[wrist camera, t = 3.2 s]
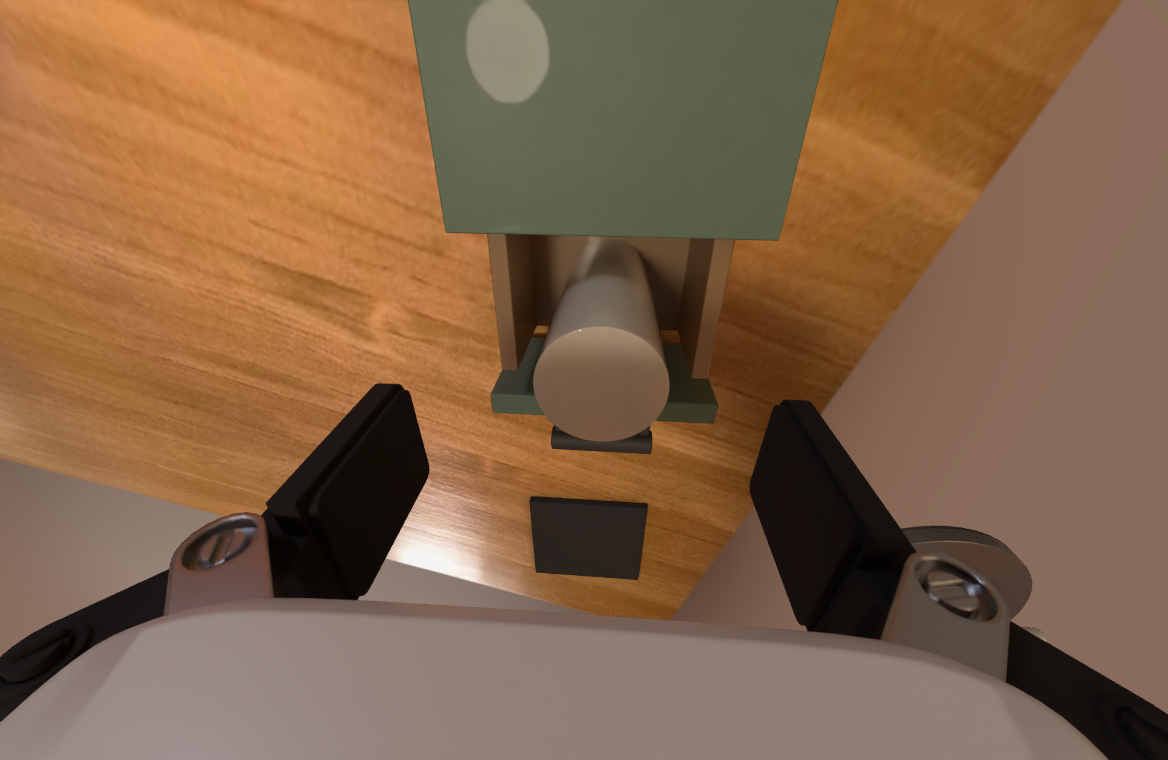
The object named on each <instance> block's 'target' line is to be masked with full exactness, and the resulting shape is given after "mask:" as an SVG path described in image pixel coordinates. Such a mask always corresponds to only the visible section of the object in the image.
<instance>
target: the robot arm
mask: <svg viewBox="0 0 1168 760" xmlns="http://www.w3.org/2000/svg"><path fill="white" fill-rule="evenodd" d="M428 475H429V463H428V459H427V456H426V452H425V448H424V444H423V440H422V437H421V433H420V429H419V425H418V422H417V418H416V414H415V410H414V406H413V403H412V399H411V395H410V393H409V391H408V390H404V388H403V387H402V386H401V385H400V384H382V383H378V384H375V385H374V386H373V387H372V388H371V389H370V390H369V391H368V392H367V394H366V395H365V396H364V397H363V398H362V399H361V400H360V401H359V402H358V403H357V404H356V406H355V407H354V408H353V409H352V410H351V411H350V412H349V413H348V414H347V415H346V416H345V417H344V419H343V420H342V421H341V422H340V423H339V424H338V425H337V426H336V427H335V428H334V429H333V431H332V432H331V433H330V434H329V435H328V436H327V437H326V438H325V439H324V440H323V441H322V443H321V444H320V445H319V446H318V447H317V448H316V449H315V450H314V451H313V452H312V453H311V454H310V456H309V457H308V458H307V459H306V460H305V461H304V462H303V463H302V464H301V465H300V466H299V468H298V469H297V470H296V471H295V472H294V473H293V474H292V475H291V476H290V477H289V478H288V480H287V481H286V482H285V483H284V484H283V485H282V486H281V487H280V488H279V489H278V490H277V492H276V493H275V494H274V495H273V496H272V497H271V498H270V499H269V500H268V501H267V502H266V505H267V507H268V508H267V510H266V511H265V512H264V513H263V514H262V515H261V516H260V515H258V514H256V513H249V512H243V513H235V514H231V515H228V516H225V517H221V518H219V519H217V520H215V521H212V522H210V523H208V524H206V525H205V526H203V527H202V528H200V529H198V530H197V531H195V532H194V533H193V534H191V535H190V536H189V537H188V538H187V539H186V540H184V541H183V542H182V543H181V545H180V546H179V547H178V548H177V550H176V551H175V552H174V554H173V557H172V559H171V562H170V568H169V569H168V570H166V571H164V572H162V573H160V574H158V575H155V576H153V577H151V578H149V579H147V580H144V581H142V582H140V583H138V584H136V585H133V586H131V587H129V588H127V589H125V590H123V591H121V592H118V593H116V594H114V595H112V596H110V597H107V598H105V599H103V600H101V601H99V602H96V603H94V604H92V605H90V606H88V607H86V608H83V609H81V610H79V611H77V612H75V613H73V614H70V615H68V616H66V617H64V618H62V619H59V620H57V621H55V622H53V623H51V624H49V625H47V626H45V627H43V628H41V629H40V630H38V631H36V632H34V633H32V634H30V635H29V636H27V637H26V638H24V639H23V640H21V641H20V642H19V643H17V644H16V645H14V646H13V647H11V648H10V649H9V650H8V651H7V652H6V653H4V654H3V655H2V656H1V657H0V760H1168V714H1166V713H1165V712H1163V711H1162V710H1160V709H1159V708H1157V707H1156V706H1154V705H1153V704H1151V703H1149V702H1148V701H1146V700H1144V699H1143V698H1141V697H1139V696H1137V695H1136V694H1134V693H1132V692H1131V691H1129V690H1127V689H1126V688H1124V687H1122V686H1120V685H1119V684H1117V683H1115V682H1114V681H1112V680H1110V679H1109V678H1107V677H1105V676H1103V675H1102V674H1100V673H1098V672H1097V671H1095V670H1093V669H1091V668H1090V667H1088V666H1086V665H1085V664H1083V663H1081V662H1079V661H1078V660H1076V659H1074V658H1073V657H1071V656H1069V655H1068V654H1066V653H1064V652H1062V651H1061V650H1059V649H1057V648H1056V647H1054V646H1052V645H1051V644H1049V643H1047V639H1046V637H1045V635H1044V633H1043V632H1041V631H1040V630H1039V629H1036V628H1029V627H1020V626H1018V625H1016V624H1015V623H1013V622H1011V621H1010V613H1009V608H1008V605H1007V603H1006V601H1005V600H1004V598H1003V596H1002V594H1001V593H1000V592H999V591H998V590H997V589H996V587H995V586H994V585H993V584H992V583H991V582H990V581H989V580H988V579H987V578H985V577H984V576H983V575H982V574H980V573H979V572H978V571H977V570H975V569H973V568H972V567H970V566H968V565H967V564H965V563H963V562H962V561H960V560H957V559H955V558H953V557H950V556H948V555H945V554H941V553H937V552H932V551H919V552H916V550H915V549H914V547H913V546H912V545H911V543H910V542H909V540H908V538H907V537H906V535H905V534H904V533H903V531H902V530H901V528H900V527H899V526H898V524H897V523H896V521H895V520H894V519H893V517H892V516H891V514H890V513H889V511H888V510H887V509H886V507H885V506H884V504H883V503H882V502H881V500H880V499H879V497H878V496H877V495H876V493H875V492H874V490H873V489H872V487H871V486H870V485H869V483H868V482H867V480H866V479H865V478H864V476H863V475H862V473H861V472H860V471H859V469H858V468H857V466H856V465H855V464H854V462H853V461H852V459H851V458H850V456H849V455H848V454H847V452H846V451H845V449H844V448H843V447H842V445H841V444H840V442H839V441H838V440H837V438H836V437H835V435H834V434H833V432H832V431H831V430H830V428H829V427H828V425H827V424H826V423H825V421H824V420H823V418H822V417H821V415H820V414H819V413H818V411H817V410H816V408H815V407H814V405H813V404H812V403H811V402H810V401H806V400H783V401H782V402H781V404H780V405H776V406H774V407H773V410H772V413H771V416H770V419H769V423H768V426H767V429H766V432H765V435H764V439H763V442H762V445H761V448H760V451H759V455H758V458H757V461H756V464H755V468H754V471H753V474H752V477H751V480H750V494H751V498H752V500H753V503H754V506H755V508H756V511H757V514H758V516H759V519H760V522H761V525H762V527H763V530H764V533H765V536H766V538H767V541H768V544H769V547H770V549H771V552H772V555H773V557H774V560H775V563H776V566H777V568H778V571H779V574H780V577H781V579H782V582H783V585H784V587H785V590H786V593H787V596H788V598H789V601H790V603H791V606H792V609H793V612H794V615H795V617H796V619H797V621H798V623H799V624H800V625H804V626H806V628H807V631H797V630H786V629H775V628H764V627H752V626H739V625H725V624H711V623H697V622H683V621H670V620H656V619H642V618H628V617H613V616H599V615H583V614H569V613H554V612H539V611H523V610H509V609H494V608H477V607H462V606H446V605H429V604H413V603H396V602H380V601H361V600H358V598H359V596H363V595H365V594H366V593H367V592H368V590H369V589H370V587H371V585H372V583H373V581H374V579H375V577H376V575H377V574H378V572H379V570H380V568H381V566H382V564H383V562H384V560H385V558H386V556H387V555H388V553H389V551H390V549H391V547H392V545H393V543H394V541H395V539H396V537H397V536H398V534H399V532H400V530H401V528H402V526H403V524H404V522H405V520H406V518H407V517H408V515H409V513H410V511H411V509H412V507H413V505H414V503H415V501H416V499H417V498H418V496H419V494H420V492H421V490H422V488H423V486H424V484H425V482H426V480H427V478H428Z"/></svg>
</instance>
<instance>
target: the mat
mask: <svg viewBox="0 0 1168 760" xmlns="http://www.w3.org/2000/svg"><path fill="white" fill-rule="evenodd" d="M530 511H531V522H532V533H533V544H534V556H535V567H536V572H537V573H550V574H564V575H578V576H592V577H605V578H619V579H633V580H638V577H639V569H640V561H641V553H642V545H643V537H644V529H645V522H646V514H647V504H640V503H624V502H608V501H592V500H575V499H559V498H543V497H531V498H530Z"/></svg>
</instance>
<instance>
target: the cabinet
mask: <svg viewBox="0 0 1168 760" xmlns="http://www.w3.org/2000/svg"><path fill="white" fill-rule="evenodd" d="M408 3H409V9H410V16H411V22H412V28H413V34H414V40H415V46H416V53H417V59H418V65H419V71H420V77H421V83H422V90H423V96H424V102H425V108H426V114H427V120H428V126H429V133H430V139H431V145H432V151H433V157H434V163H435V170H436V176H437V182H438V188H439V194H440V200H441V207H442V213H443V219H444V225H445V231H446V232H447V233H478V234H520V235H562V236H604V237H646V238H688V239H730V240H773V241H777V240H779V237H780V233H781V229H782V225H783V221H784V217H785V213H786V209H787V205H788V201H789V197H790V193H791V189H792V185H793V181H794V177H795V173H796V169H797V165H798V161H799V157H800V153H801V149H802V145H803V141H804V136H805V132H806V128H807V124H808V120H809V116H810V112H811V108H812V104H813V100H814V96H815V92H816V88H817V84H818V80H819V76H820V72H821V68H822V64H823V60H824V56H825V52H826V48H827V44H828V40H829V36H830V32H831V28H832V24H833V20H834V15H835V11H836V7H837V3H838V0H408Z"/></svg>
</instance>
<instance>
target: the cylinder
mask: <svg viewBox="0 0 1168 760" xmlns="http://www.w3.org/2000/svg"><path fill="white" fill-rule="evenodd" d="M669 385H670V384H669V375H668V370H667V365H666V360H665V355H664V350H663V345H662V340H661V335H660V331H659V326H658V321H657V316H656V311H655V306H654V301H653V296H652V291H651V286H650V281H649V276H648V271H647V267H646V264H645V261H644V259H643V258H642V256H641V255H640V253H639V252H638V251H637V250H636V249H635V248H634V247H632V246H631V245H629V244H627V243H626V242H623V241H620V240H616V239H603V240H598V241H595V242H593V243H590V244H589V245H587V246H586V247H584V248H583V249H582V250H581V251H580V252H579V253H578V254H577V256H576V257H575V259H574V261H573V263H572V265H571V268H570V271H569V274H568V277H567V279H566V282H565V285H564V288H563V291H562V294H561V296H560V299H559V302H558V305H557V308H556V311H555V313H554V316H553V319H552V322H551V325H550V328H549V330H548V333H547V336H546V339H545V342H544V345H543V347H542V350H541V353H540V356H539V359H538V362H537V365H536V368H535V371H534V377H533V388H534V394H535V397H536V400H537V403H538V405H539V407H540V409H541V410H542V412H543V413H544V415H545V416H546V417H547V418H548V419H549V420H550V421H551V422H552V423H553V424H554V425H555V426H557V427H558V428H559V429H561V430H562V431H564V432H566V433H568V434H570V435H572V436H574V437H577V438H580V439H584V440H589V441H597V442H609V441H617V440H622V439H625V438H628V437H631V436H633V435H636V434H638V433H640V432H641V431H643V430H645V429H646V428H647V427H648V426H650V425H651V424H652V423H653V422H654V421H655V420H656V419H657V418H658V416H659V415H660V414H661V412H662V410H663V408H664V407H665V404H666V402H667V399H668V394H669Z"/></svg>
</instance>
